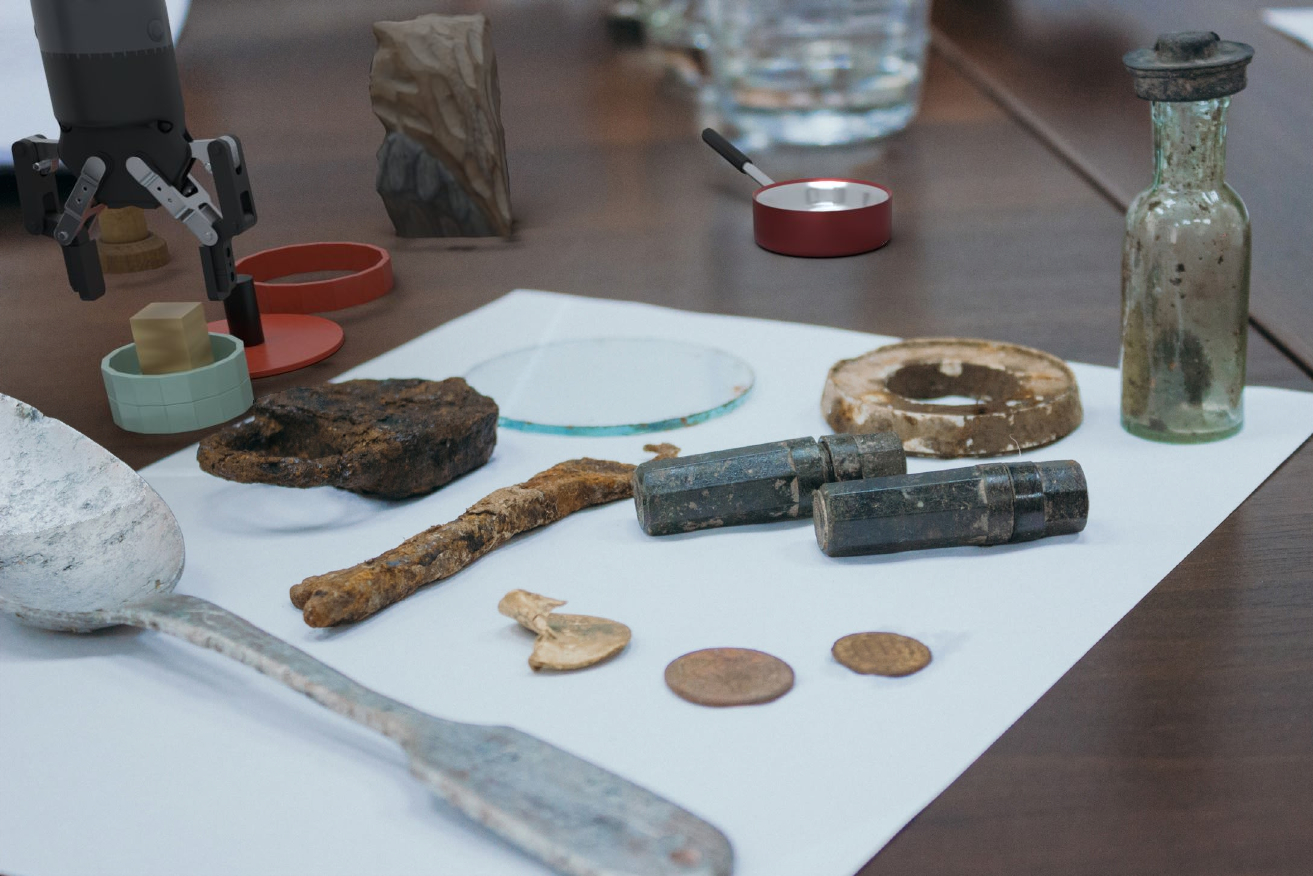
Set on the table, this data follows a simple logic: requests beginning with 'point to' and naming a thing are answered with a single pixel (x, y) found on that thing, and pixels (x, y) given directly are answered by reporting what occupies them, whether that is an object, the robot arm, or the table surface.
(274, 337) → the pan lid
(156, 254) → the mortar and pestle
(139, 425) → the bowl
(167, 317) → the block
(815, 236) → the frying pan
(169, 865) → the table surface
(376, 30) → the two-tone stone chunk
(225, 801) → the table surface
